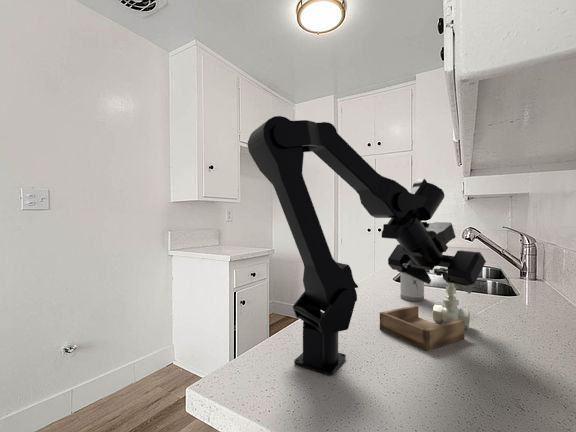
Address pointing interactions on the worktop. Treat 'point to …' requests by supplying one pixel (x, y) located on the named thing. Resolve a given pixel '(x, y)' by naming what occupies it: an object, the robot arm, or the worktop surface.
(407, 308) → the tray
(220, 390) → the worktop surface
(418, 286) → the travel mug
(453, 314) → the valve
